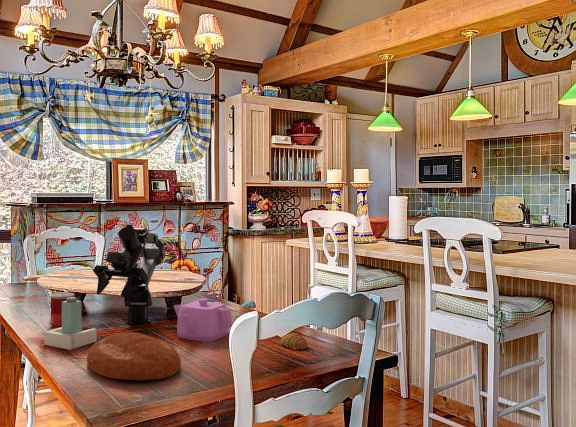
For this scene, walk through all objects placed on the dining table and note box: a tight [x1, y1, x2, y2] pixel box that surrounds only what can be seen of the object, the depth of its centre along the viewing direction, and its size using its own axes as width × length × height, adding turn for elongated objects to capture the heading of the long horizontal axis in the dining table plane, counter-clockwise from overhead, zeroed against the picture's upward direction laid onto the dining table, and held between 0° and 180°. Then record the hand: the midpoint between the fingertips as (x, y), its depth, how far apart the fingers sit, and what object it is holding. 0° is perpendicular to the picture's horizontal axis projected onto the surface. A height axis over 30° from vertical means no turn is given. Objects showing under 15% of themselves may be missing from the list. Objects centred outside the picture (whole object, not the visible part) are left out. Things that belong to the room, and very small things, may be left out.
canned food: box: [50, 292, 76, 329], centre depth 187 cm, size 8×8×11 cm
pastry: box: [280, 332, 309, 350], centre depth 166 cm, size 9×7×4 cm
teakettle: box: [173, 298, 233, 343], centre depth 176 cm, size 17×17×12 cm
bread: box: [86, 331, 182, 382], centre depth 144 cm, size 23×32×9 cm
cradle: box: [44, 327, 97, 350], centre depth 166 cm, size 10×11×4 cm
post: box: [62, 296, 82, 335], centre depth 166 cm, size 4×4×14 cm
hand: (109, 295), depth 173 cm, fingers open, 9 cm apart
